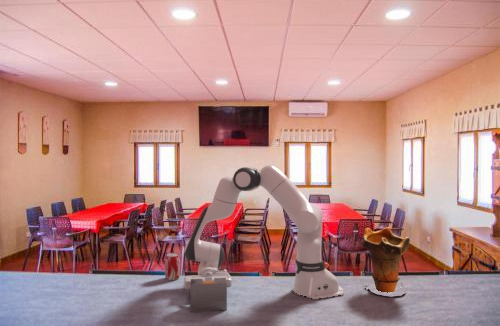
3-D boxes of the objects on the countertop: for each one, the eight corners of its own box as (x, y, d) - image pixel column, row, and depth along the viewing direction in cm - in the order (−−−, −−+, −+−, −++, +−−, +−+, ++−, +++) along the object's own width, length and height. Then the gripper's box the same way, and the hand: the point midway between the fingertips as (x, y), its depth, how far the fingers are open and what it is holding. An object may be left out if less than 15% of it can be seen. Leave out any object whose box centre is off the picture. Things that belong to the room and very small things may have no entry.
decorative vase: (382, 303, 152) (381, 235, 152) (352, 286, 174) (351, 226, 174) (424, 297, 158) (423, 232, 158) (389, 281, 180) (388, 224, 180)
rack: (225, 303, 151) (225, 276, 151) (226, 310, 145) (226, 281, 145) (190, 305, 149) (190, 277, 149) (190, 312, 143) (190, 283, 143)
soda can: (176, 281, 177) (176, 257, 176) (162, 280, 178) (162, 256, 178) (182, 276, 184) (181, 253, 183) (168, 275, 185) (168, 252, 185)
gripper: (184, 271, 164) (182, 282, 150) (229, 269, 167) (232, 280, 153) (184, 285, 164) (182, 297, 150) (229, 282, 167) (232, 294, 153)
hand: (208, 288), depth 152 cm, fingers open, 8 cm apart
